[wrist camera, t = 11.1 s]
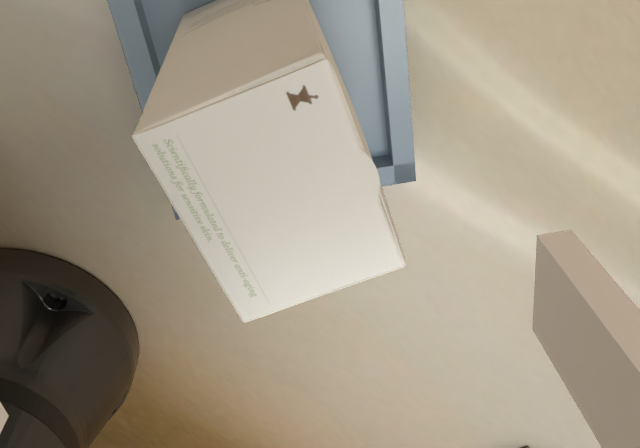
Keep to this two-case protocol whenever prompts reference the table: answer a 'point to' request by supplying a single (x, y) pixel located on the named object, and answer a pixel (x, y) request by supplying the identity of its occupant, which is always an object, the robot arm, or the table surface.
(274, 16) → the skincare box
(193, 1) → the tray
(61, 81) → the table surface
